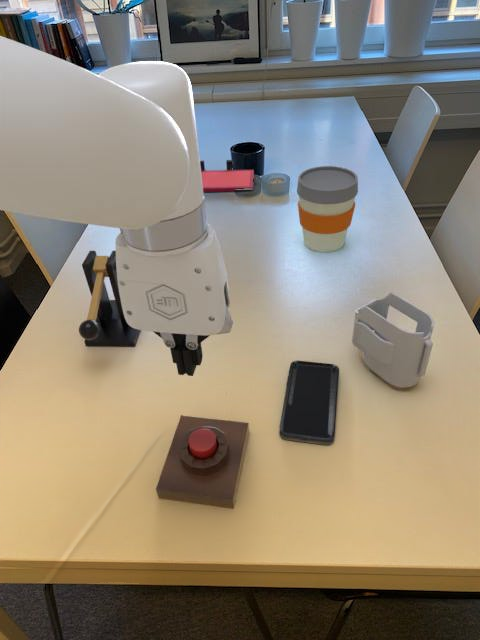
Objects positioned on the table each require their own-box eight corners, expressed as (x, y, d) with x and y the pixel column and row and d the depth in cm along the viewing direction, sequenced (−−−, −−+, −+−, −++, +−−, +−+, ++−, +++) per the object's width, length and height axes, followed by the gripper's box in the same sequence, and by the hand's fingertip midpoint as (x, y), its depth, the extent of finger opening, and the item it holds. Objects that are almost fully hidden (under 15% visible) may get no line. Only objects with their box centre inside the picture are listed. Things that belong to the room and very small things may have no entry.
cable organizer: (371, 341, 84) (380, 284, 76) (431, 383, 76) (448, 324, 68) (343, 358, 81) (349, 301, 74) (402, 403, 73) (416, 345, 66)
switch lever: (100, 343, 78) (93, 334, 75) (81, 343, 78) (73, 334, 76) (116, 264, 85) (110, 254, 82) (98, 264, 85) (91, 254, 82)
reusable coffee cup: (306, 223, 116) (308, 162, 107) (359, 232, 112) (366, 169, 102) (287, 250, 108) (287, 186, 98) (343, 261, 103) (349, 195, 94)
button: (213, 460, 63) (212, 452, 62) (187, 457, 64) (185, 449, 63) (219, 438, 66) (218, 430, 65) (193, 435, 67) (192, 427, 66)
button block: (233, 509, 62) (231, 492, 59) (158, 498, 64) (153, 481, 61) (249, 432, 71) (248, 414, 68) (182, 424, 73) (179, 407, 70)
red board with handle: (152, 170, 145) (143, 194, 134) (151, 161, 143) (141, 184, 132) (254, 168, 143) (253, 192, 132) (254, 159, 141) (252, 182, 130)
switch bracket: (135, 346, 86) (116, 278, 77) (85, 346, 87) (61, 278, 78) (149, 304, 96) (134, 238, 86) (104, 304, 96) (85, 239, 87)
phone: (339, 364, 79) (334, 441, 67) (339, 369, 79) (333, 446, 68) (290, 359, 80) (277, 434, 69) (290, 364, 81) (277, 439, 70)
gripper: (67, 238, 42) (114, 384, 54) (239, 246, 39) (249, 398, 51) (101, 198, 48) (137, 339, 59) (253, 203, 45) (259, 349, 57)
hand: (189, 366), depth 55 cm, fingers closed
